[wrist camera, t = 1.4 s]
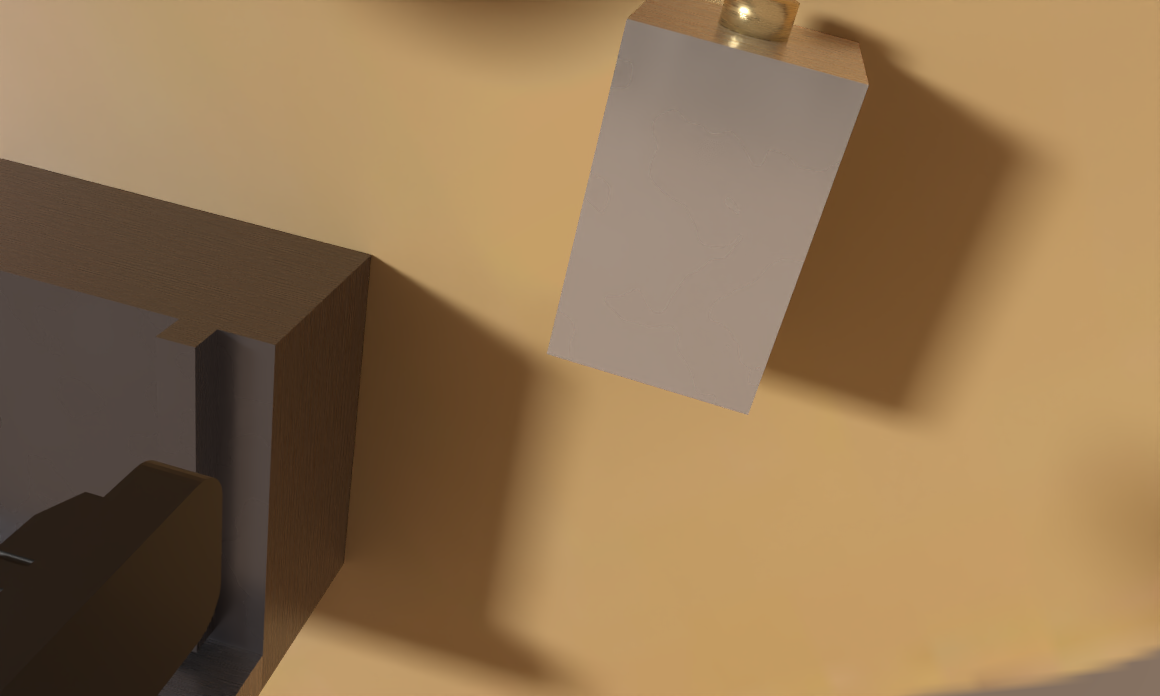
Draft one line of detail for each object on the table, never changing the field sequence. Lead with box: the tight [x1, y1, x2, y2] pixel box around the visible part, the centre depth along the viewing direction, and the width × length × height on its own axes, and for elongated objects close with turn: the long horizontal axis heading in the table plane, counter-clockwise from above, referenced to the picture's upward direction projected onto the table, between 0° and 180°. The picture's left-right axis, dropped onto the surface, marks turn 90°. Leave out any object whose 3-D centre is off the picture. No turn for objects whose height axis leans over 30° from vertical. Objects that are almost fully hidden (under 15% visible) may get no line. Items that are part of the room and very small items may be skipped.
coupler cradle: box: [0, 159, 371, 696], centre depth 29 cm, size 12×12×8 cm
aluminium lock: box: [547, 0, 869, 415], centre depth 24 cm, size 9×5×5 cm, turn 167°
